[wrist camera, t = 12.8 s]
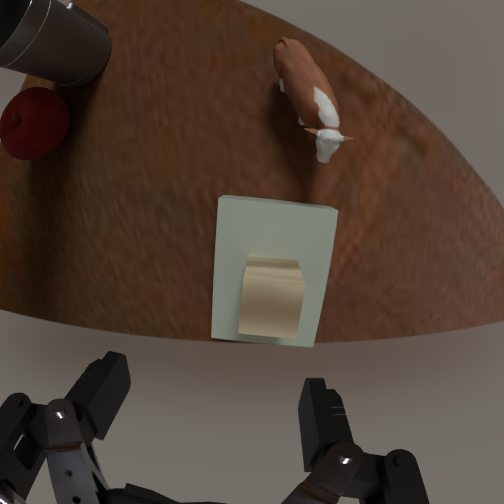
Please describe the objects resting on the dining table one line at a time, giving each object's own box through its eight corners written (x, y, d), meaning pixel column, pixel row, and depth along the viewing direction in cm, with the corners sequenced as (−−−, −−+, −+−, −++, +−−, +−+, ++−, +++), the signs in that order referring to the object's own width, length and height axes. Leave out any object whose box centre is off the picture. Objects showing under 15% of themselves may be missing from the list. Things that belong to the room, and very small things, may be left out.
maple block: (248, 255, 29) (243, 279, 23) (297, 260, 29) (305, 286, 23) (244, 299, 31) (238, 333, 24) (290, 303, 31) (295, 338, 24)
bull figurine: (305, 167, 31) (318, 166, 23) (266, 62, 27) (265, 31, 20) (341, 157, 30) (364, 153, 22) (301, 53, 27) (311, 22, 19)
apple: (74, 162, 31) (24, 164, 22) (32, 156, 31) (-15, 158, 22) (90, 94, 29) (43, 79, 19) (45, 95, 29) (0, 86, 19)
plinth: (224, 195, 32) (218, 198, 28) (329, 206, 32) (338, 210, 28) (216, 321, 36) (211, 337, 32) (308, 330, 36) (312, 347, 32)
